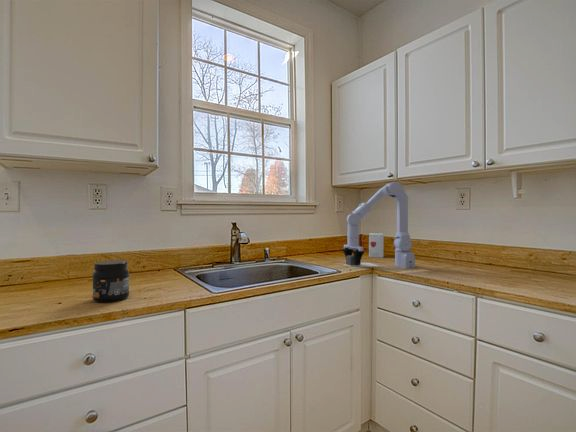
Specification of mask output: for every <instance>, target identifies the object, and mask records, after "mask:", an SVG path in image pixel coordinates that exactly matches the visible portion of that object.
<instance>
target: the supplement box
mask: <svg viewBox="0 0 576 432" xmlns="http://www.w3.org/2000/svg"><path fill="white" fill-rule="evenodd" d="M384 236H385V234H384V233H381V232H378V233H377V232H375V233H374V232H373V233H372V232H370V233H369V236H368V257H369V258H383V259H384V250H385V249H384V248H385V246H384V245H385V242H384V239H385V237H384Z"/></svg>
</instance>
